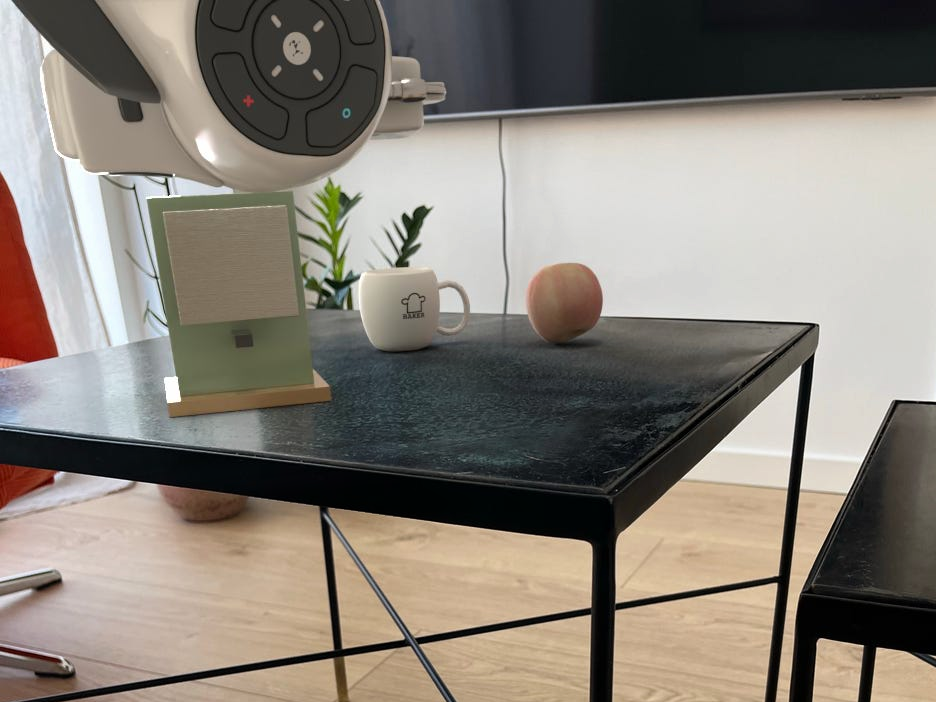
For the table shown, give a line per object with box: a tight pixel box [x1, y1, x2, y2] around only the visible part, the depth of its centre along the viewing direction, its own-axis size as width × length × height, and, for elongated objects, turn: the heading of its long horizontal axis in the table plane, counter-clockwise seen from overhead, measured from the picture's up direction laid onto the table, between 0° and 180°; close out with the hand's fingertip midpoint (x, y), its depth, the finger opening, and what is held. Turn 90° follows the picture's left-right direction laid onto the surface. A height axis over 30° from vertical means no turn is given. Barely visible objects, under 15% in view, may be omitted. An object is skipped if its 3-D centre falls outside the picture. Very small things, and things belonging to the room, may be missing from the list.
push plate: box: [163, 205, 299, 325], centre depth 77 cm, size 1×9×8 cm, turn 107°
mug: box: [358, 266, 471, 352], centre depth 107 cm, size 12×8×8 cm
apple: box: [525, 262, 604, 345], centre depth 105 cm, size 8×8×8 cm
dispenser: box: [145, 189, 332, 418], centre depth 84 cm, size 13×13×16 cm
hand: (230, 117), depth 62 cm, fingers open, 8 cm apart
